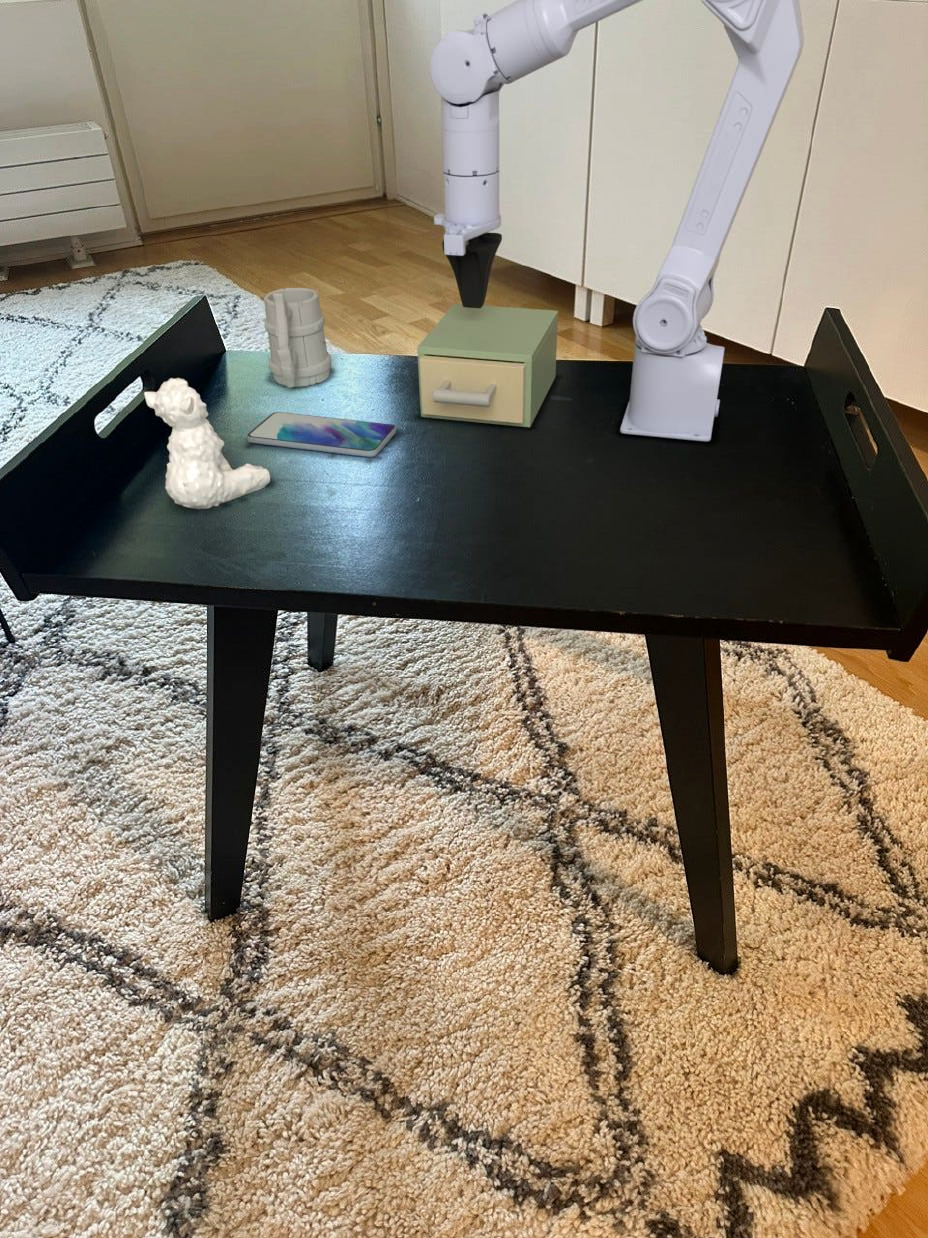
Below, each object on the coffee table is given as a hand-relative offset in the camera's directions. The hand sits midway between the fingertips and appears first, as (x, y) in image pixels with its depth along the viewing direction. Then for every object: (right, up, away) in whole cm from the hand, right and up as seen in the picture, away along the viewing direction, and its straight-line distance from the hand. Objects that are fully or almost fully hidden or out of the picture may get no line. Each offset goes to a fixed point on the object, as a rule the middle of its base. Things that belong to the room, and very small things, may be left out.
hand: (473, 305), depth 99 cm
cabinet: (+2, -9, +6) cm, 11 cm away
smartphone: (-16, -15, -2) cm, 22 cm away
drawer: (+1, -10, +2) cm, 10 cm away
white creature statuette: (-26, -23, -11) cm, 36 cm away
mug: (-21, -6, +11) cm, 25 cm away
